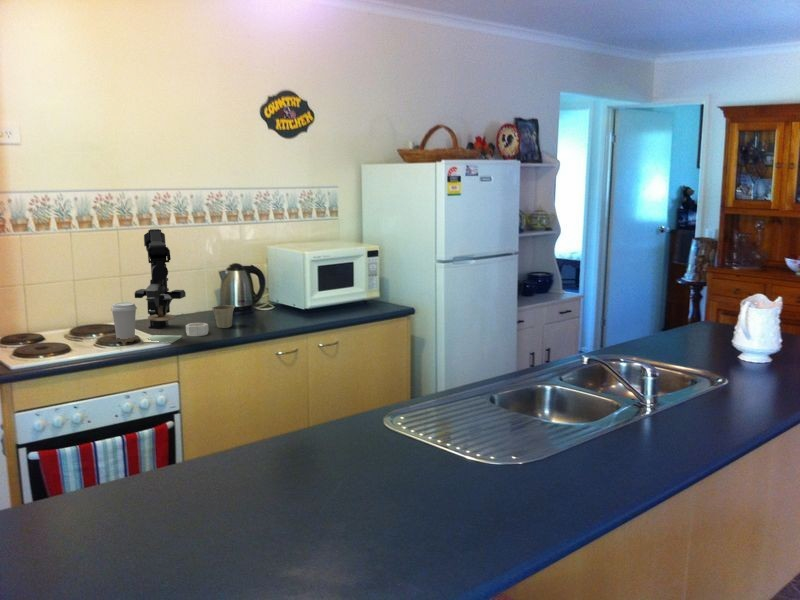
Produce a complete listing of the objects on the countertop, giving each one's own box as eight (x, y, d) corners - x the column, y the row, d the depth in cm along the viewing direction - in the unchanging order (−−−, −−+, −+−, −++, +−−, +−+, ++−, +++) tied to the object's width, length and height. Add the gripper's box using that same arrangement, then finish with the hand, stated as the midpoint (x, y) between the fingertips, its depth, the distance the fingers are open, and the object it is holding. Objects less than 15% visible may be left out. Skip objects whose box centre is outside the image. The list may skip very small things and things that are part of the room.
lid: (143, 320, 286) (143, 308, 285) (154, 315, 296) (153, 304, 295) (168, 321, 285) (167, 309, 284) (178, 316, 295) (177, 304, 294)
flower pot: (222, 330, 311) (221, 310, 309) (208, 327, 316) (207, 307, 315) (239, 326, 318) (239, 307, 317) (225, 323, 324) (224, 304, 322)
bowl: (183, 336, 298) (183, 326, 298) (191, 331, 307) (190, 322, 306) (203, 336, 298) (203, 327, 297) (210, 332, 306) (210, 322, 305)
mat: (141, 342, 287) (141, 340, 287) (153, 336, 298) (153, 335, 297) (171, 343, 286) (171, 341, 286) (182, 337, 297) (182, 335, 296)
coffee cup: (107, 342, 286) (105, 304, 284) (126, 338, 295) (124, 301, 292) (124, 345, 282) (122, 306, 280) (144, 340, 290) (141, 303, 288)
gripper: (127, 278, 280) (129, 318, 283) (174, 279, 279) (176, 319, 281) (139, 274, 291) (141, 313, 294) (185, 275, 290) (187, 314, 292)
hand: (161, 315), depth 290 cm, fingers closed on lid, 2 cm apart
